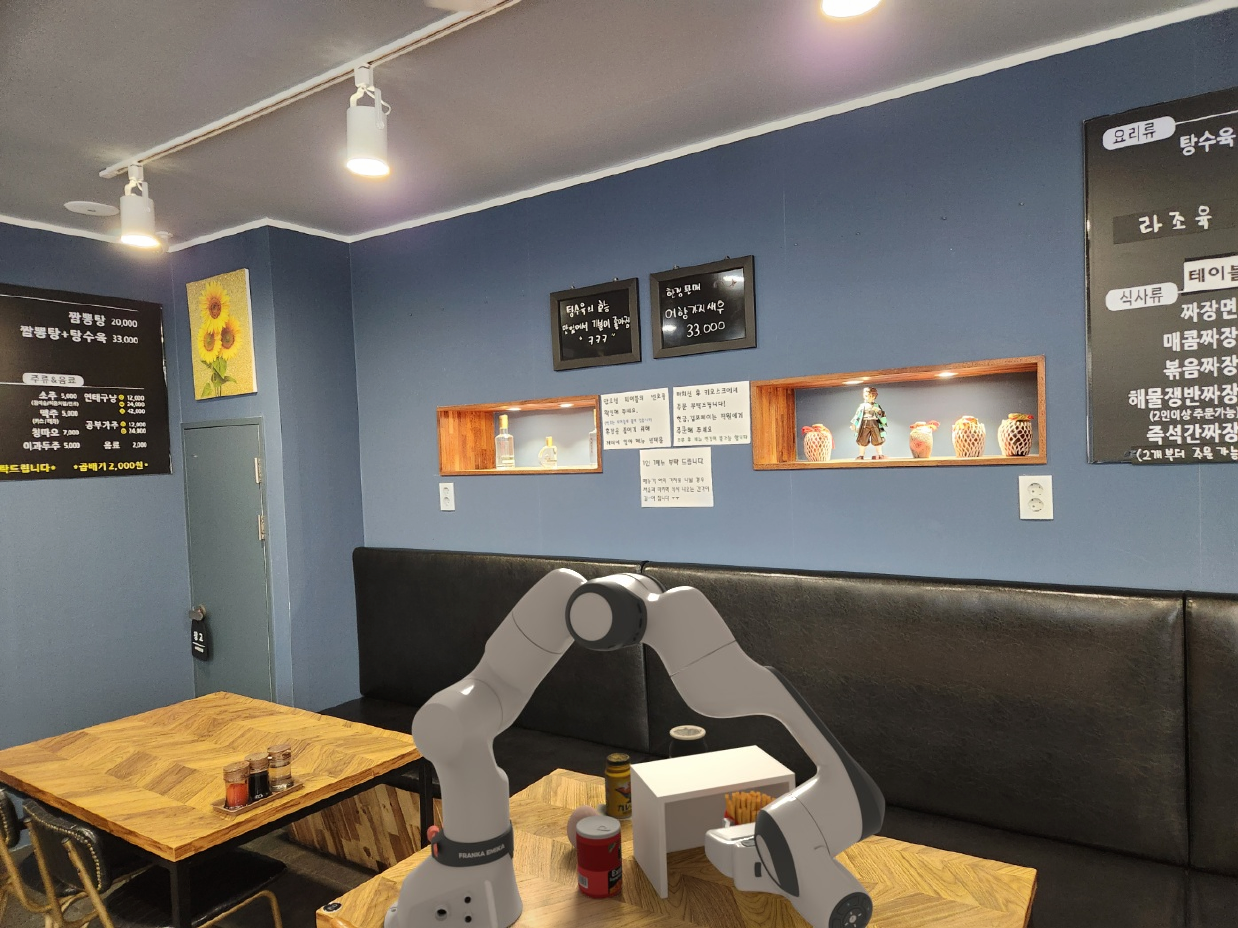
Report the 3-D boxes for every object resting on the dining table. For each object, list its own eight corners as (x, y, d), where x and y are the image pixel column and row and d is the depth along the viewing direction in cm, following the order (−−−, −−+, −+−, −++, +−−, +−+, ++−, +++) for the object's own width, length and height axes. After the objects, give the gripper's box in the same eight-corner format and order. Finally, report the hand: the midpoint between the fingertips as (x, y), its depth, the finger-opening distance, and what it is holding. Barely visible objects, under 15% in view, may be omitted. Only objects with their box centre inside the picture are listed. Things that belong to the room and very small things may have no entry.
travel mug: (711, 826, 153) (707, 737, 154) (671, 826, 154) (668, 738, 154) (708, 808, 161) (705, 724, 162) (671, 808, 162) (668, 725, 162)
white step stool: (661, 898, 128) (657, 796, 128) (633, 855, 143) (630, 764, 143) (798, 868, 136) (794, 773, 136) (758, 831, 150) (755, 745, 150)
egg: (612, 849, 145) (610, 805, 146) (583, 862, 141) (581, 818, 141) (588, 836, 151) (587, 794, 151) (560, 849, 146) (558, 806, 146)
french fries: (724, 870, 123) (722, 797, 123) (728, 858, 127) (726, 787, 127) (777, 877, 121) (775, 802, 121) (779, 865, 124) (777, 792, 125)
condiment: (635, 820, 157) (633, 762, 157) (595, 820, 158) (592, 763, 158) (636, 804, 165) (634, 749, 165) (597, 805, 165) (595, 750, 165)
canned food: (618, 901, 128) (615, 836, 128) (572, 898, 129) (570, 833, 129) (626, 877, 135) (624, 816, 135) (583, 874, 137) (581, 813, 137)
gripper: (850, 826, 115) (802, 790, 128) (727, 848, 109) (690, 808, 122) (851, 868, 114) (803, 827, 128) (728, 892, 108) (691, 847, 122)
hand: (747, 818), depth 125 cm, fingers closed on french fries, 6 cm apart
